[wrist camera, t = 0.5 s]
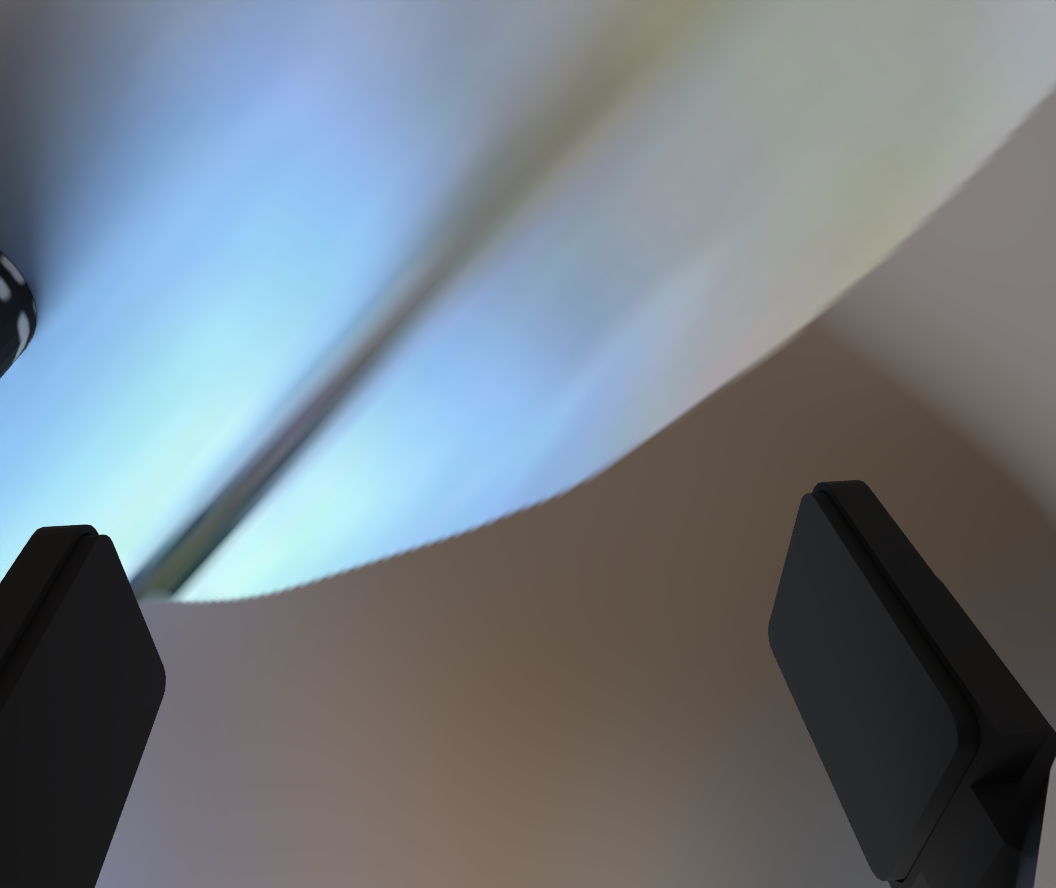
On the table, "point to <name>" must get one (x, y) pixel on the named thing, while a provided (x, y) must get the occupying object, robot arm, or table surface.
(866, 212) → the table surface
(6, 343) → the spotted tube
